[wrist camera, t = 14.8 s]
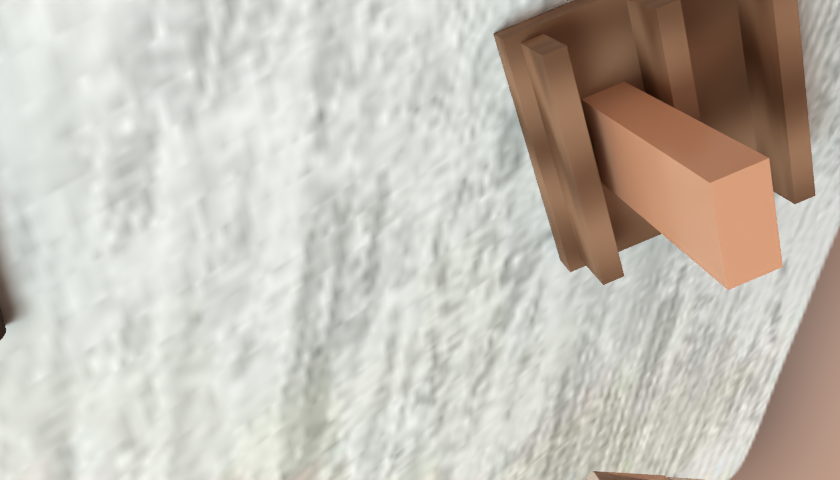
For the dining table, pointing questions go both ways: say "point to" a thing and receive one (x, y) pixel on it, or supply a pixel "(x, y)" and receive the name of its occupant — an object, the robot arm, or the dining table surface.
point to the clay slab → (687, 182)
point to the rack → (666, 81)
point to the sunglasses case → (2, 326)
